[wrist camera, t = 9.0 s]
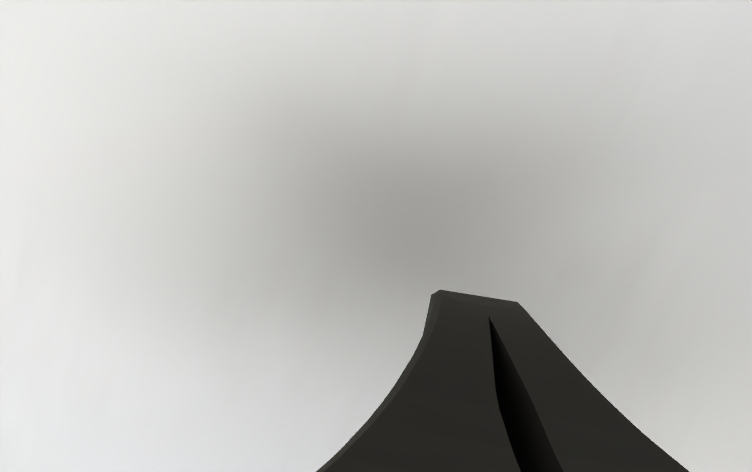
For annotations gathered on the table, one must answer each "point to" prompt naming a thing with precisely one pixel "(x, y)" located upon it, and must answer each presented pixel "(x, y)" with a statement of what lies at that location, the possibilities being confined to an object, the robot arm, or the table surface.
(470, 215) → the table surface
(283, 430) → the table surface
